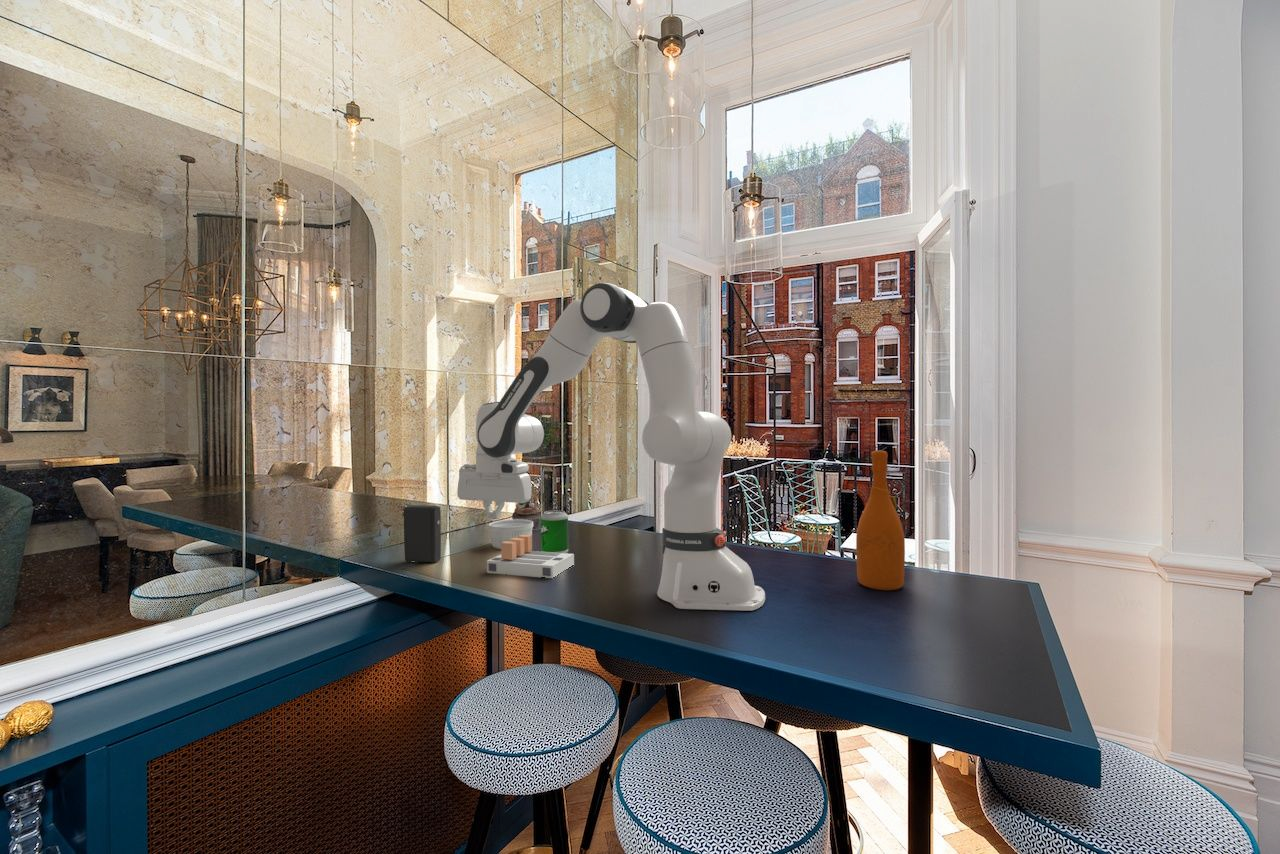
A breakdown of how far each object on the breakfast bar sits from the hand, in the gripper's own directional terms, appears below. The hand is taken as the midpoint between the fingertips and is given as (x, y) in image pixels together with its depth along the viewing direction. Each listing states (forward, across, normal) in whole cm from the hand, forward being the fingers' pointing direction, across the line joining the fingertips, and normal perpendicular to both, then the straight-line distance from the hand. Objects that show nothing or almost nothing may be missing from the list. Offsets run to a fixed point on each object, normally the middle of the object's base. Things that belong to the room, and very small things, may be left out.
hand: (493, 518), depth 140 cm
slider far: (+9, +7, +4) cm, 12 cm away
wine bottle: (+11, +93, +9) cm, 94 cm away
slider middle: (+9, +7, 0) cm, 11 cm away
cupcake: (+13, -16, +45) cm, 49 cm away
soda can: (+12, +10, +15) cm, 22 cm away
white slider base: (+12, +11, 0) cm, 16 cm away
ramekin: (+13, -8, +22) cm, 27 cm away
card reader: (+13, -21, -1) cm, 25 cm away
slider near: (+9, +7, -4) cm, 12 cm away
